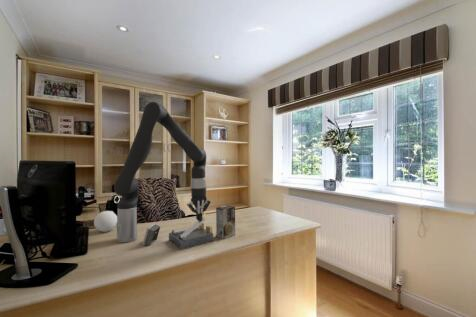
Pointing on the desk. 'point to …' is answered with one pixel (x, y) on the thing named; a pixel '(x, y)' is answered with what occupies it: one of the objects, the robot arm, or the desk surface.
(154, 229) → the grey irregular chunk
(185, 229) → the far strap
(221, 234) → the coffee box
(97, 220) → the decorative ball
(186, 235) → the near strap
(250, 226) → the desk surface
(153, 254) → the desk surface
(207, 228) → the clamp block
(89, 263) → the desk surface
